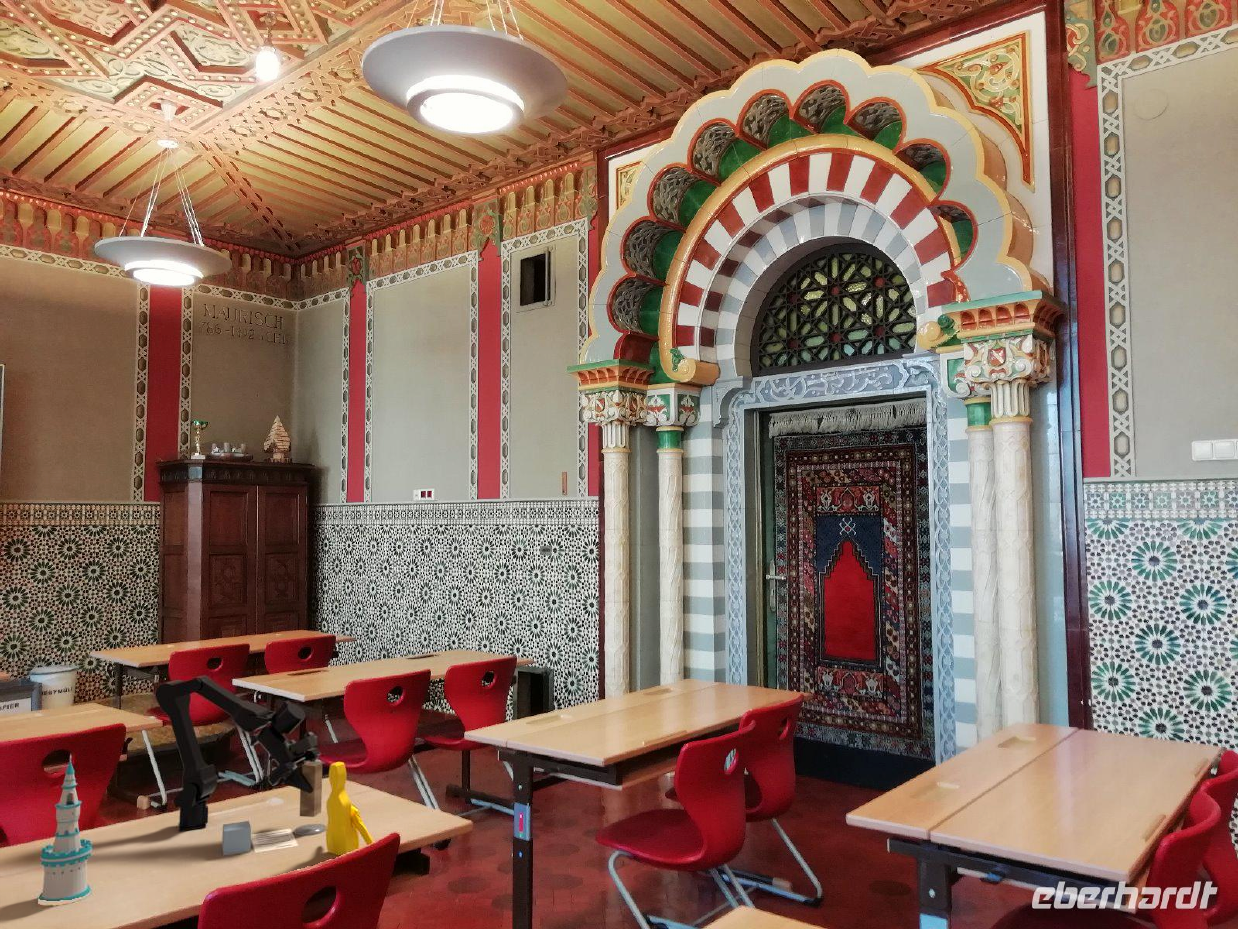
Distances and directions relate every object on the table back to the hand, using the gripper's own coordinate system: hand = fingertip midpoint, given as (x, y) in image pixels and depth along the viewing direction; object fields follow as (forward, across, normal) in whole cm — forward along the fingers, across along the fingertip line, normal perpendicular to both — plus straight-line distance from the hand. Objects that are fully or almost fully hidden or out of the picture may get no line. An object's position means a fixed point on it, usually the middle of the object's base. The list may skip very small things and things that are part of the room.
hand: (315, 789), depth 233 cm
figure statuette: (+18, -15, -3) cm, 24 cm away
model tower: (-16, -47, +32) cm, 59 cm away
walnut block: (+4, 0, +5) cm, 6 cm away
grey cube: (-1, -16, +17) cm, 23 cm away
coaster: (+7, 0, +8) cm, 11 cm away
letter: (+3, -8, +12) cm, 15 cm away
